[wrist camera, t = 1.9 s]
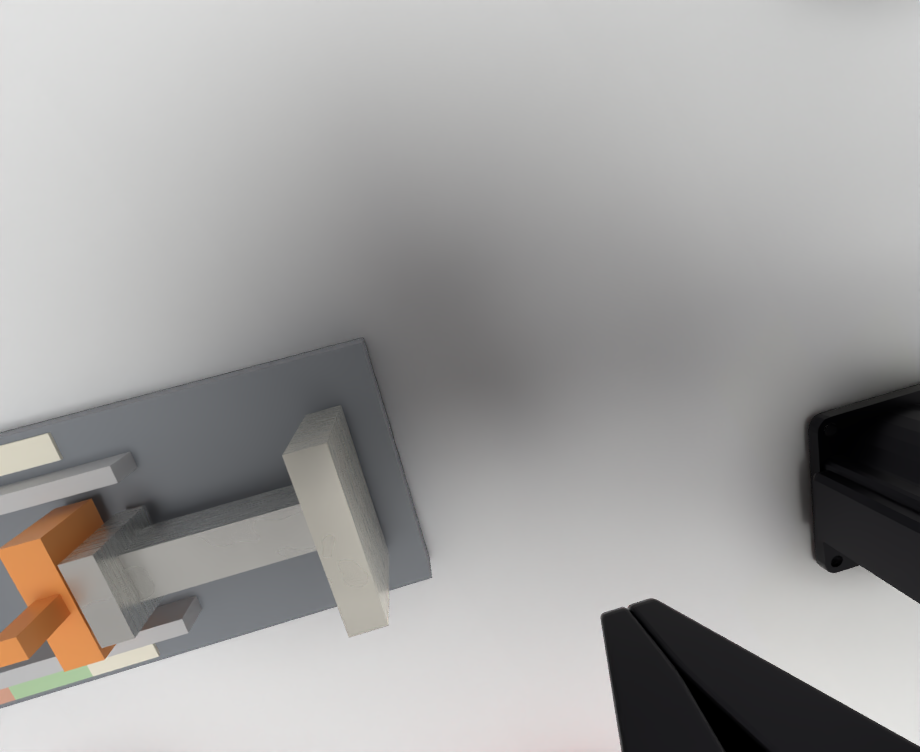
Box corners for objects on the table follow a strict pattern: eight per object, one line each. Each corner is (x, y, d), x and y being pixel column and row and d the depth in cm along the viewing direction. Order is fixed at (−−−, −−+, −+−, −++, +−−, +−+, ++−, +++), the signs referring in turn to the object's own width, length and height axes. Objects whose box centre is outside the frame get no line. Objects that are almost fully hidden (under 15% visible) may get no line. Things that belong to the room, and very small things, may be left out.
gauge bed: (363, 337, 15) (348, 373, 10) (429, 559, 17) (444, 680, 12) (-196, 484, 13) (-528, 607, 9) (-52, 703, 15) (-254, 903, 11)
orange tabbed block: (91, 498, 13) (-8, 575, 10) (144, 605, 14) (68, 709, 11) (54, 508, 13) (-59, 590, 10) (109, 616, 14) (23, 722, 11)
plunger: (340, 405, 14) (326, 443, 11) (389, 554, 15) (388, 625, 12) (95, 472, 13) (10, 530, 10) (167, 620, 14) (110, 711, 11)
